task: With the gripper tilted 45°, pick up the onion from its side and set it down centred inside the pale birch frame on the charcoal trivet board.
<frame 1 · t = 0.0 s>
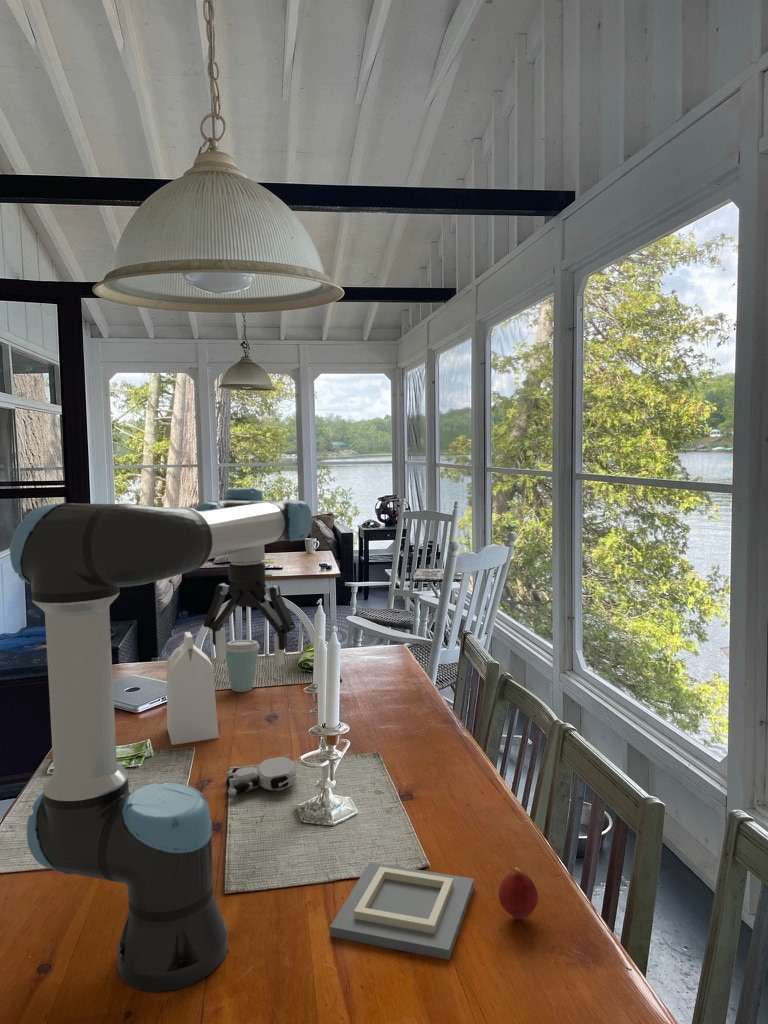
hand: (250, 662, 154), 28 cm above the table, fingers open, 13 cm apart
trivet: (405, 910, 114), on the table
disposable coffee cup: (243, 689, 226), on the table
robot toy: (262, 788, 158), on the table
milk: (192, 733, 190), on the table
onion: (518, 919, 112), on the table
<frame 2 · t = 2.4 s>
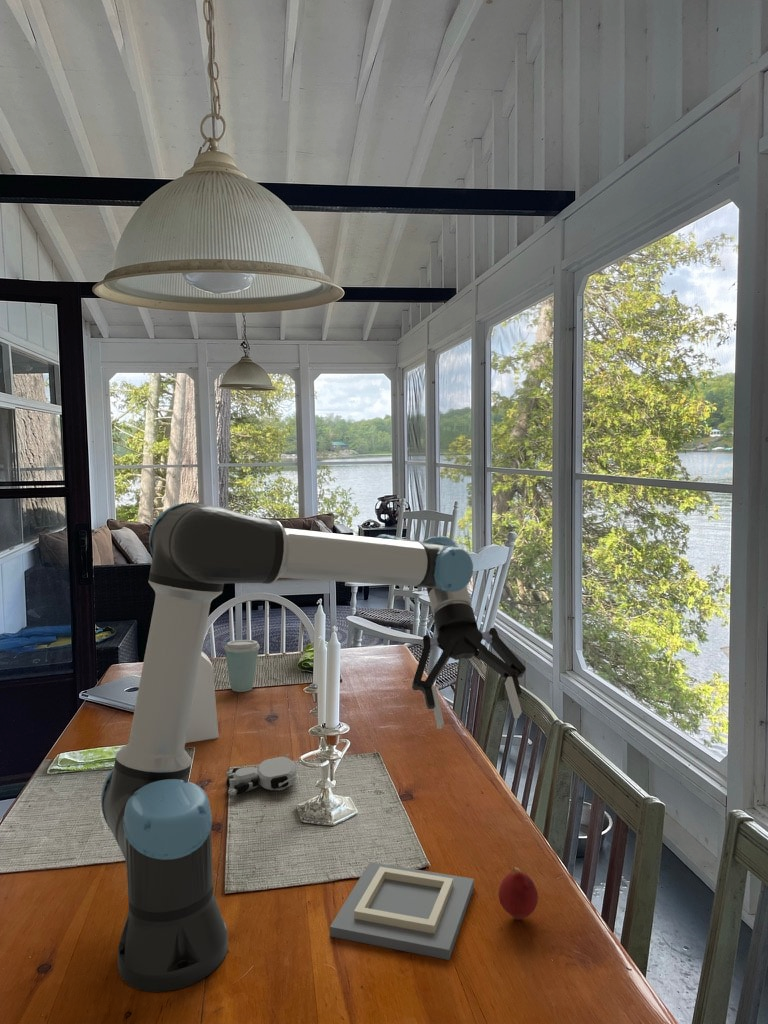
hand: (479, 720, 124), 26 cm above the table, fingers open, 13 cm apart
nothing on the table moved.
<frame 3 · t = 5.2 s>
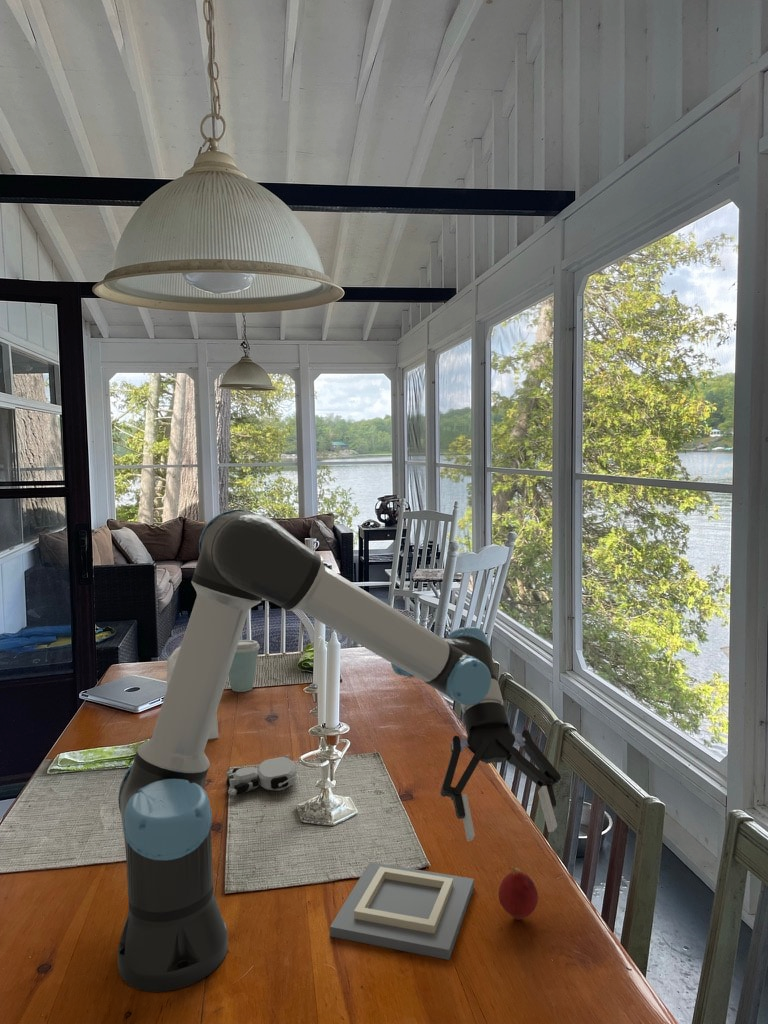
hand: (512, 834, 117), 10 cm above the table, fingers open, 13 cm apart
nothing on the table moved.
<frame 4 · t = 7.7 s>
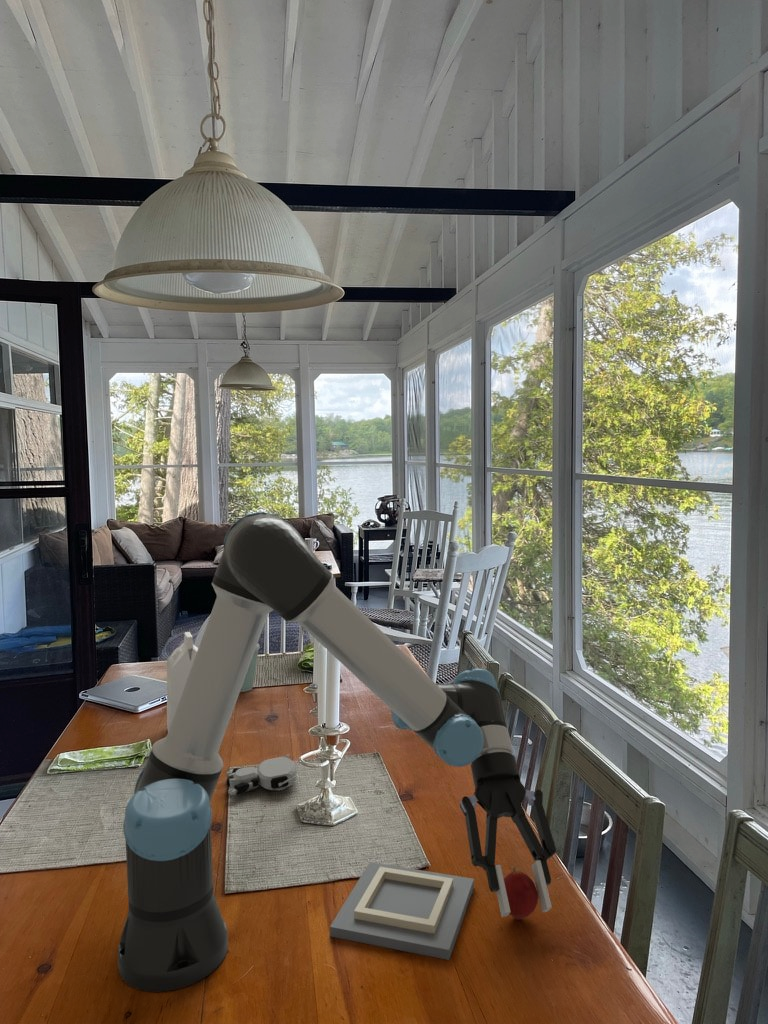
hand: (526, 911, 108), 3 cm above the table, fingers closed on onion, 6 cm apart
onion: (518, 919, 112), on the table, touching gripper
everything else where it was.
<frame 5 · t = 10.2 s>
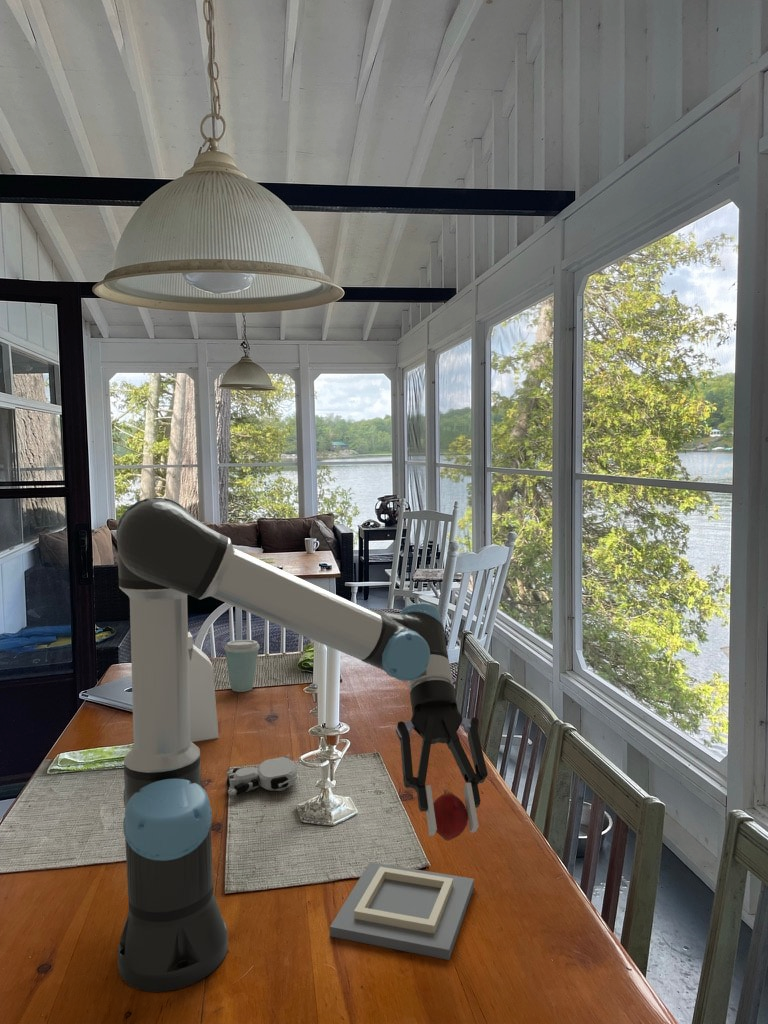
hand: (453, 830, 109), 15 cm above the table, fingers closed on onion, 6 cm apart
onion: (448, 841, 113), point 11 cm above the table, touching gripper
everything else where it was.
when the fingers open (6 cm above the table, at t = 12.8 s): onion stays where it is, resting on trivet.
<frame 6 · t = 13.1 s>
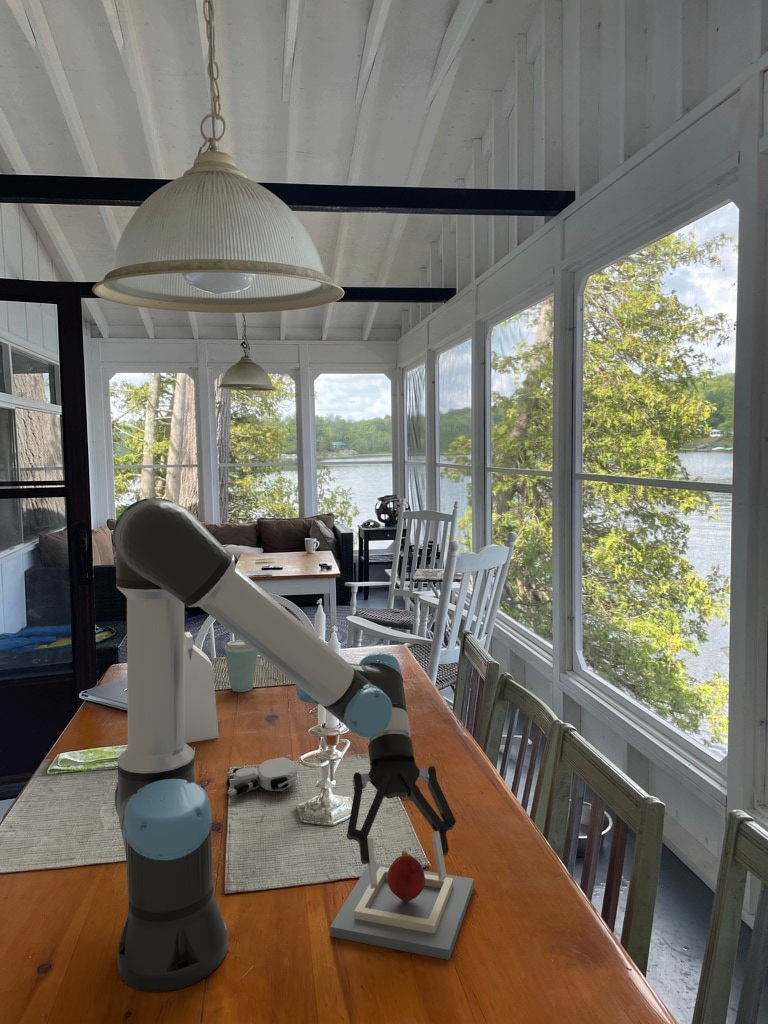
hand: (408, 882, 111), 6 cm above the table, fingers open, 10 cm apart
onion: (406, 902, 114), point 1 cm above the table, touching trivet
everything else where it was.
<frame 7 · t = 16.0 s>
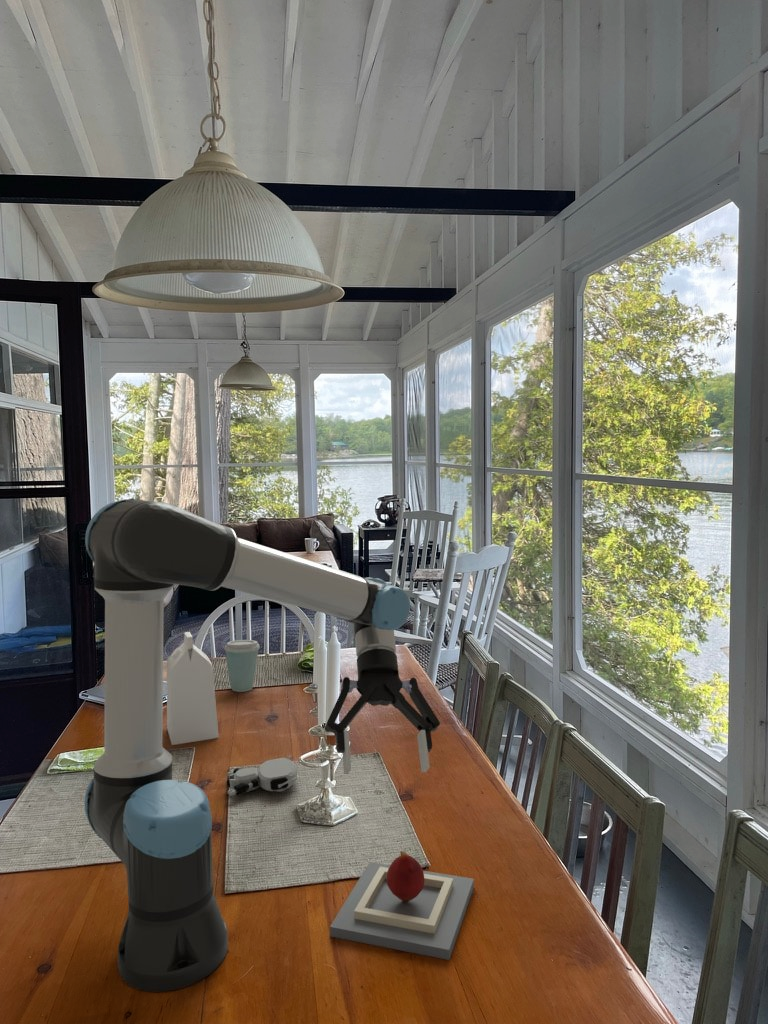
hand: (387, 771, 124), 18 cm above the table, fingers open, 13 cm apart
nothing on the table moved.
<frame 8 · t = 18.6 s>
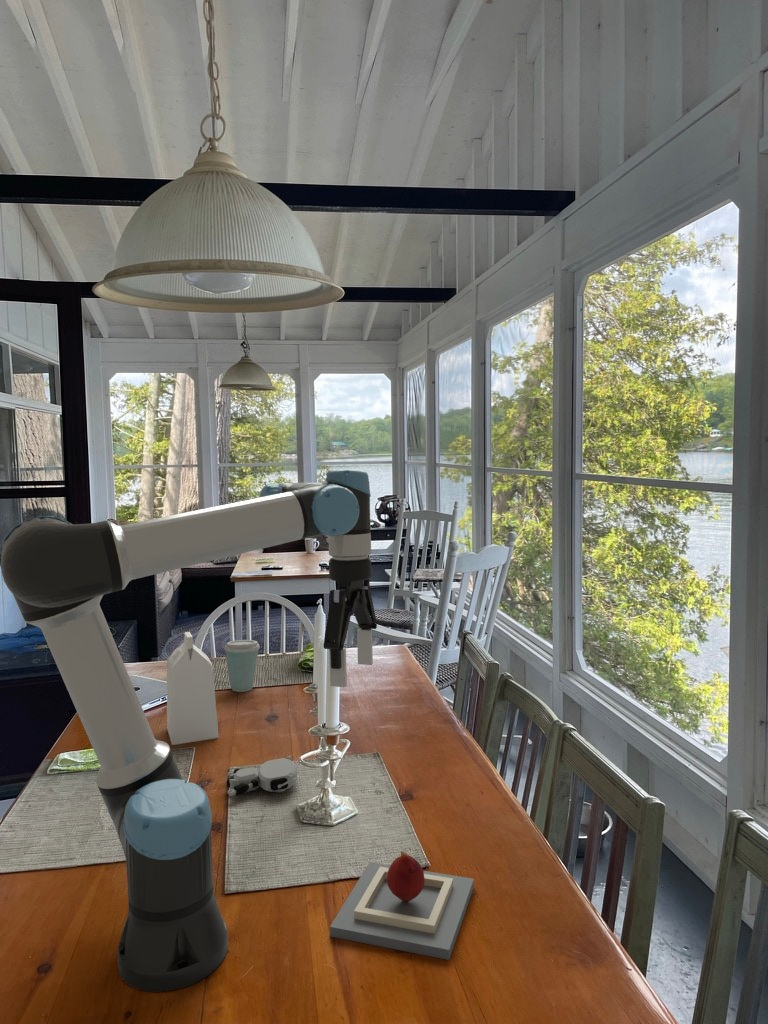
hand: (352, 674, 131), 32 cm above the table, fingers open, 13 cm apart
nothing on the table moved.
at the end: onion 0.1 cm from the trivet (horizontally); onion touching trivet; the gripper is holding nothing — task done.
